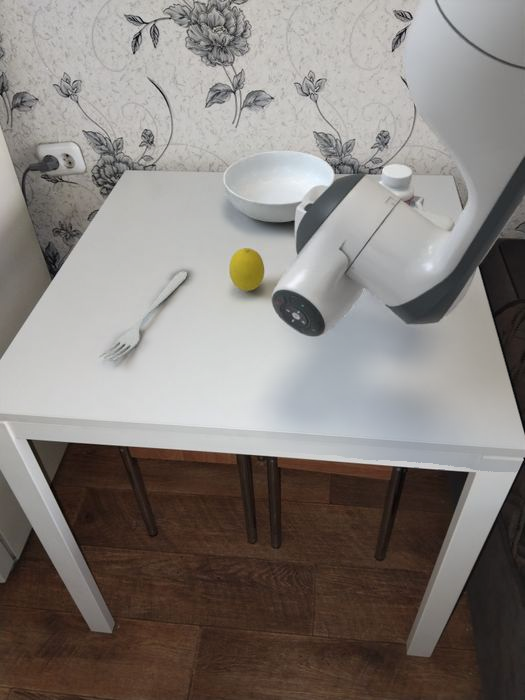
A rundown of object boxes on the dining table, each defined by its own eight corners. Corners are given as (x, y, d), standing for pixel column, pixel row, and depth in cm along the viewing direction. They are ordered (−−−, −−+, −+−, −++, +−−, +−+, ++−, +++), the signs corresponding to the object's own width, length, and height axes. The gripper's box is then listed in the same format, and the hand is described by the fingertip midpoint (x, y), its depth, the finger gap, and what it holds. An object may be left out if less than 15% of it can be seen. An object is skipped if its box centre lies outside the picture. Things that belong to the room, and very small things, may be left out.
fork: (193, 273, 100) (192, 265, 99) (117, 370, 84) (114, 362, 83) (177, 270, 101) (175, 261, 100) (98, 365, 85) (95, 356, 84)
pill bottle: (406, 244, 84) (416, 181, 77) (368, 240, 85) (375, 178, 78) (408, 224, 88) (418, 162, 81) (371, 220, 89) (378, 159, 82)
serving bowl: (336, 182, 120) (337, 150, 116) (329, 240, 106) (331, 206, 101) (235, 178, 123) (233, 147, 118) (215, 234, 108) (212, 201, 103)
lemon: (266, 280, 98) (264, 239, 92) (263, 301, 94) (261, 260, 88) (233, 279, 98) (230, 238, 93) (229, 300, 94) (225, 259, 89)
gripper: (439, 245, 69) (473, 192, 77) (285, 203, 76) (331, 159, 85) (430, 288, 73) (463, 233, 81) (285, 244, 81) (329, 198, 89)
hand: (395, 195), depth 83 cm, fingers closed on pill bottle, 5 cm apart
